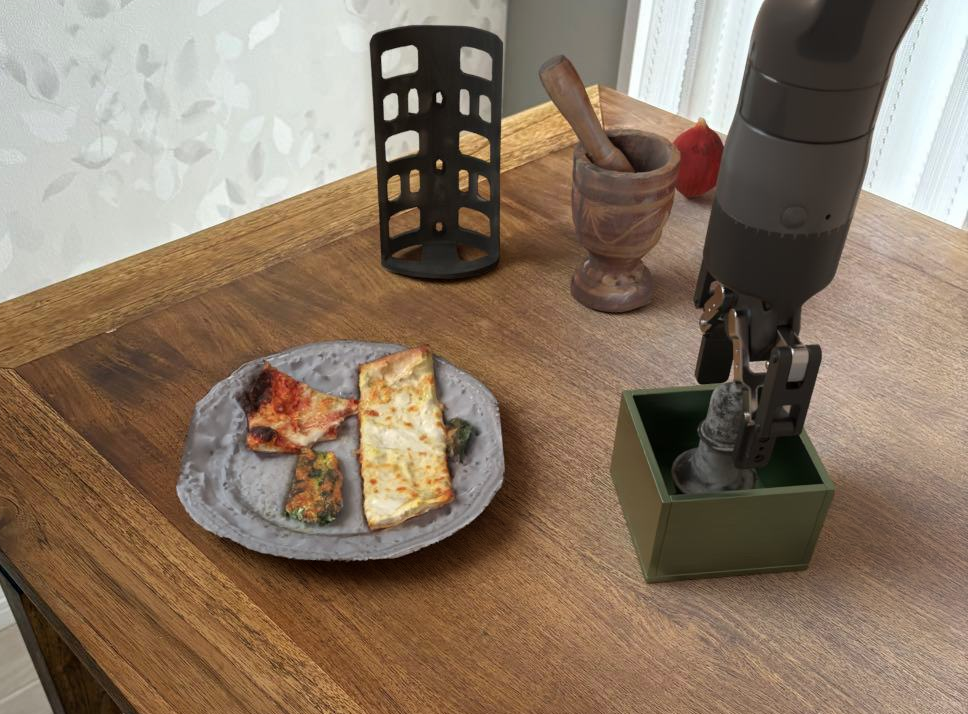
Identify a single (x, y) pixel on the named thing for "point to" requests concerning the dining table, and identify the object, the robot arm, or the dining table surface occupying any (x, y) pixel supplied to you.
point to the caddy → (712, 495)
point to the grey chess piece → (715, 449)
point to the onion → (698, 159)
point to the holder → (438, 148)
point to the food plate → (342, 451)
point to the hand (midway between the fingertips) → (728, 421)
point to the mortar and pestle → (612, 196)
